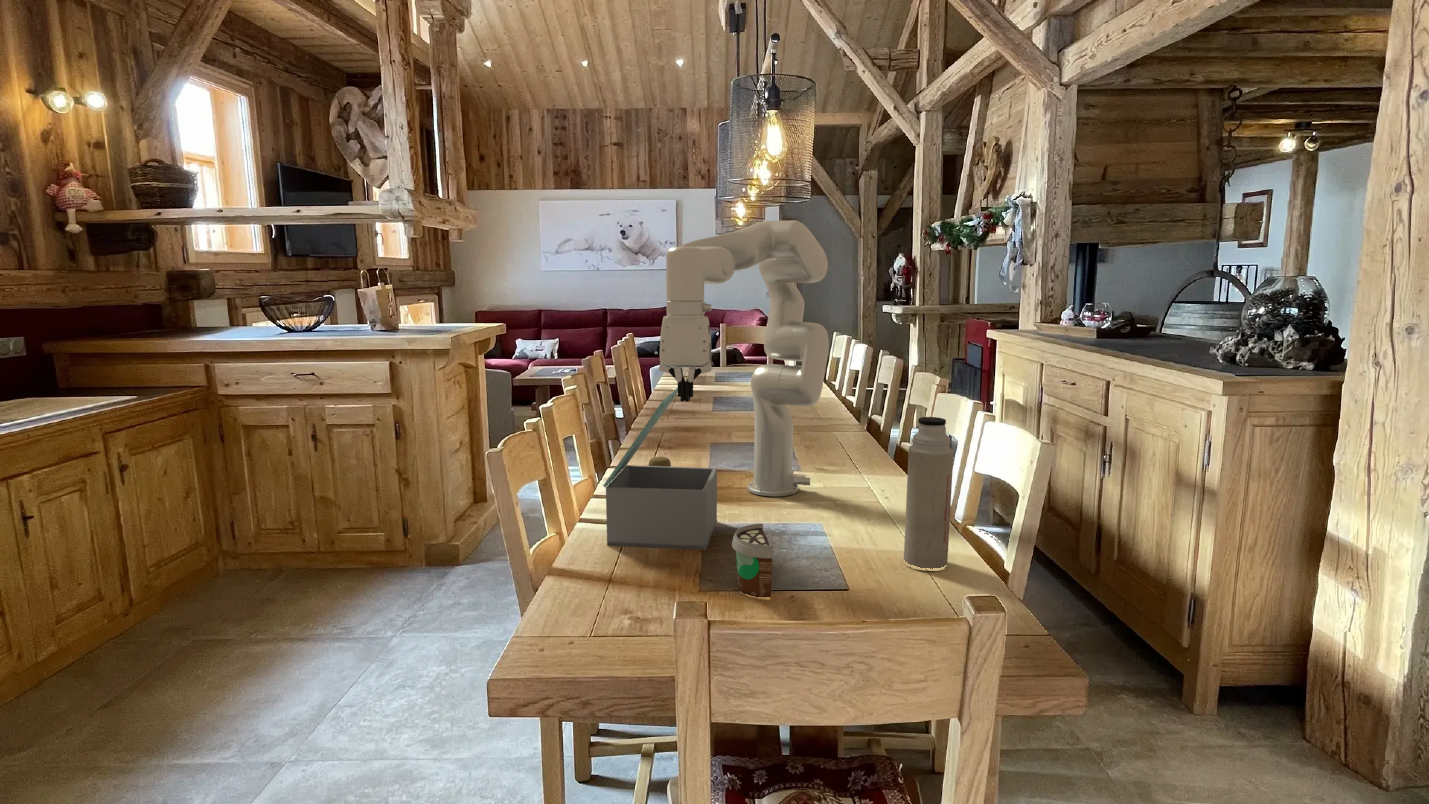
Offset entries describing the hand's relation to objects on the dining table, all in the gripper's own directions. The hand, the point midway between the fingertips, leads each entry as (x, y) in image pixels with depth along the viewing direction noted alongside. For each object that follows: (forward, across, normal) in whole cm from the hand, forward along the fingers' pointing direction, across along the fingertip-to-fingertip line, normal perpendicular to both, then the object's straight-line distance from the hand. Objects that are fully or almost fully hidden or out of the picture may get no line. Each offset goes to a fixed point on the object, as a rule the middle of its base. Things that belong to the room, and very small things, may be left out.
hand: (685, 400), depth 160 cm
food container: (+29, -15, +27) cm, 42 cm away
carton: (+28, +5, 0) cm, 29 cm away
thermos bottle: (+28, -47, +11) cm, 56 cm away
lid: (+8, +9, 0) cm, 12 cm away
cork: (+28, +9, -21) cm, 37 cm away
